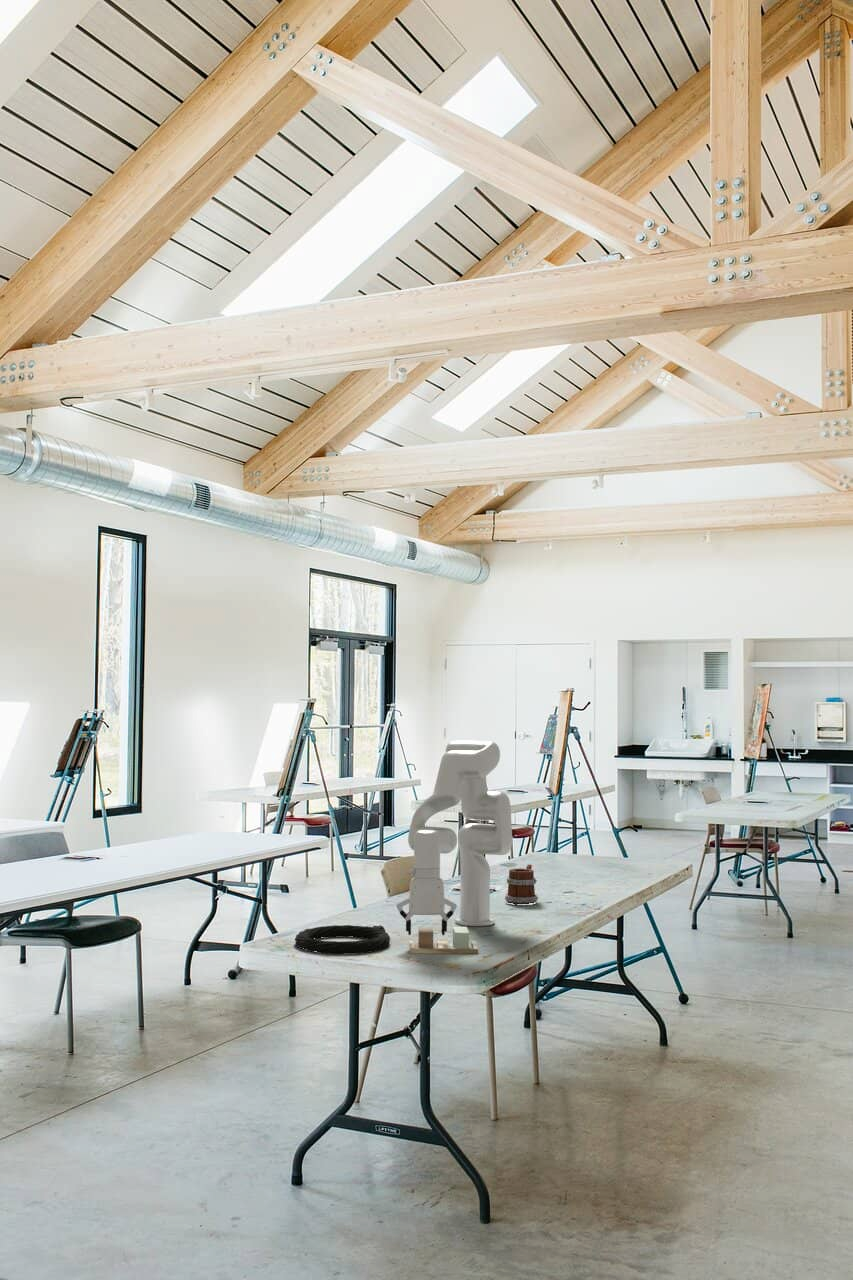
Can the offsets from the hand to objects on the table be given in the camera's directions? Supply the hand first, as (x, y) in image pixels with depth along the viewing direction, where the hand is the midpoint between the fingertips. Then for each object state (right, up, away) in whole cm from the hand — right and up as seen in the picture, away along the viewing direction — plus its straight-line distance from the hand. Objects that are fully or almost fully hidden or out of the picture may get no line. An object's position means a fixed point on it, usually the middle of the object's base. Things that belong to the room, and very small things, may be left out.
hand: (426, 934), depth 316 cm
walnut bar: (0, -4, -2) cm, 4 cm away
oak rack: (+5, -4, 0) cm, 6 cm away
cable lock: (-23, -4, +4) cm, 24 cm away
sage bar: (+10, -4, 0) cm, 11 cm away
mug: (+34, -10, +79) cm, 87 cm away
